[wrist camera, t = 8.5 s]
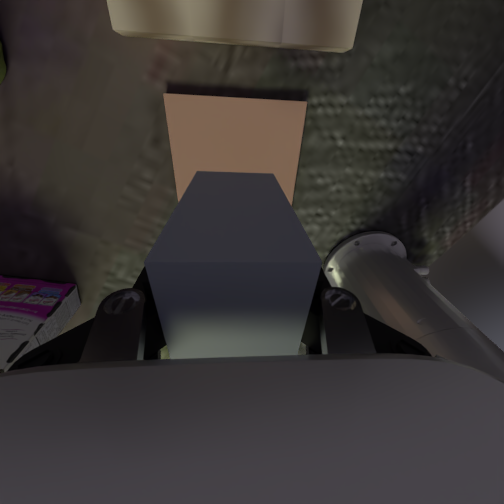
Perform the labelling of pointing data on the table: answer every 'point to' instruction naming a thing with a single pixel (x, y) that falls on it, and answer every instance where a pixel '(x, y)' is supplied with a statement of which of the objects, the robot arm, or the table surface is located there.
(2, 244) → the table surface
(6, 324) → the candy bar box
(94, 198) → the table surface
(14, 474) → the robot arm
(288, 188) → the tile
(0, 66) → the plant pot
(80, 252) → the table surface
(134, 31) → the holder
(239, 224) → the block
